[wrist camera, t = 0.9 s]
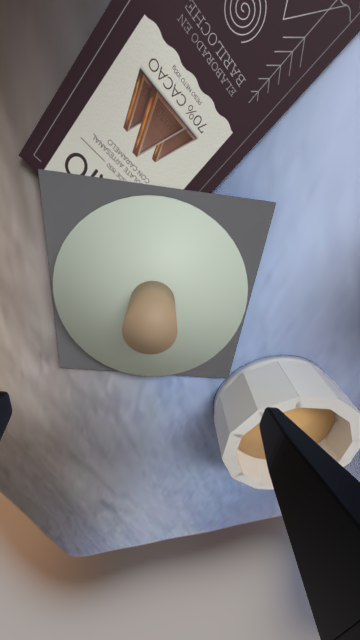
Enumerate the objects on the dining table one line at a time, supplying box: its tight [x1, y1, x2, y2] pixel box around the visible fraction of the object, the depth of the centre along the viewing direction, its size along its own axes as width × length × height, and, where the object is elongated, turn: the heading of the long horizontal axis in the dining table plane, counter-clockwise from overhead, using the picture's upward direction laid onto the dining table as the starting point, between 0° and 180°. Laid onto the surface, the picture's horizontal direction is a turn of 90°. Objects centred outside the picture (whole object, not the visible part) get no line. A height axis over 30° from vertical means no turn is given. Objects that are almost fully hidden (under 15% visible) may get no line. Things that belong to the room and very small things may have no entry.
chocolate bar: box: [19, 0, 360, 193], centre depth 13 cm, size 9×1×18 cm
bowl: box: [214, 355, 360, 489], centre depth 23 cm, size 11×11×5 cm
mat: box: [38, 169, 276, 379], centre depth 19 cm, size 14×14×1 cm
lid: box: [53, 195, 248, 376], centre depth 16 cm, size 13×13×5 cm
